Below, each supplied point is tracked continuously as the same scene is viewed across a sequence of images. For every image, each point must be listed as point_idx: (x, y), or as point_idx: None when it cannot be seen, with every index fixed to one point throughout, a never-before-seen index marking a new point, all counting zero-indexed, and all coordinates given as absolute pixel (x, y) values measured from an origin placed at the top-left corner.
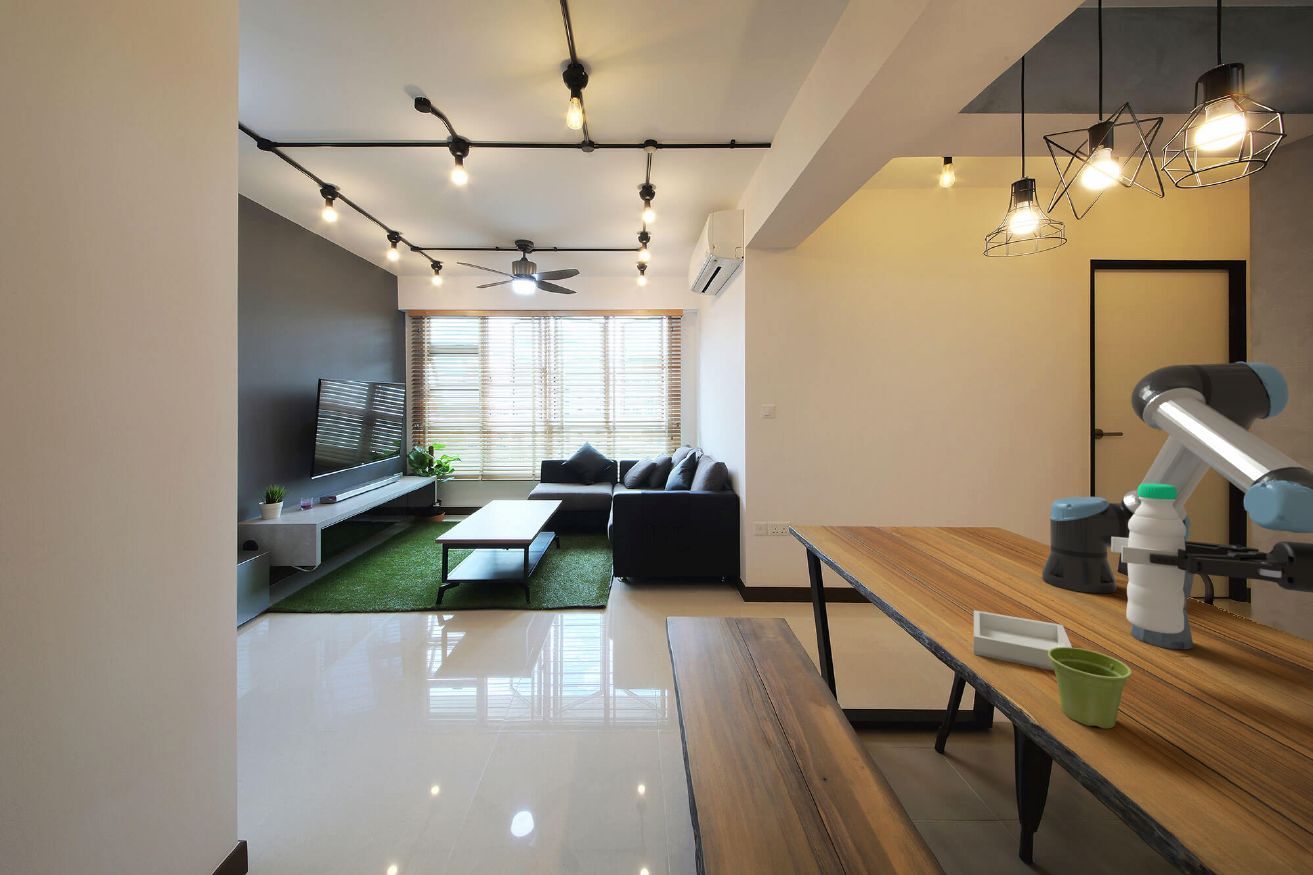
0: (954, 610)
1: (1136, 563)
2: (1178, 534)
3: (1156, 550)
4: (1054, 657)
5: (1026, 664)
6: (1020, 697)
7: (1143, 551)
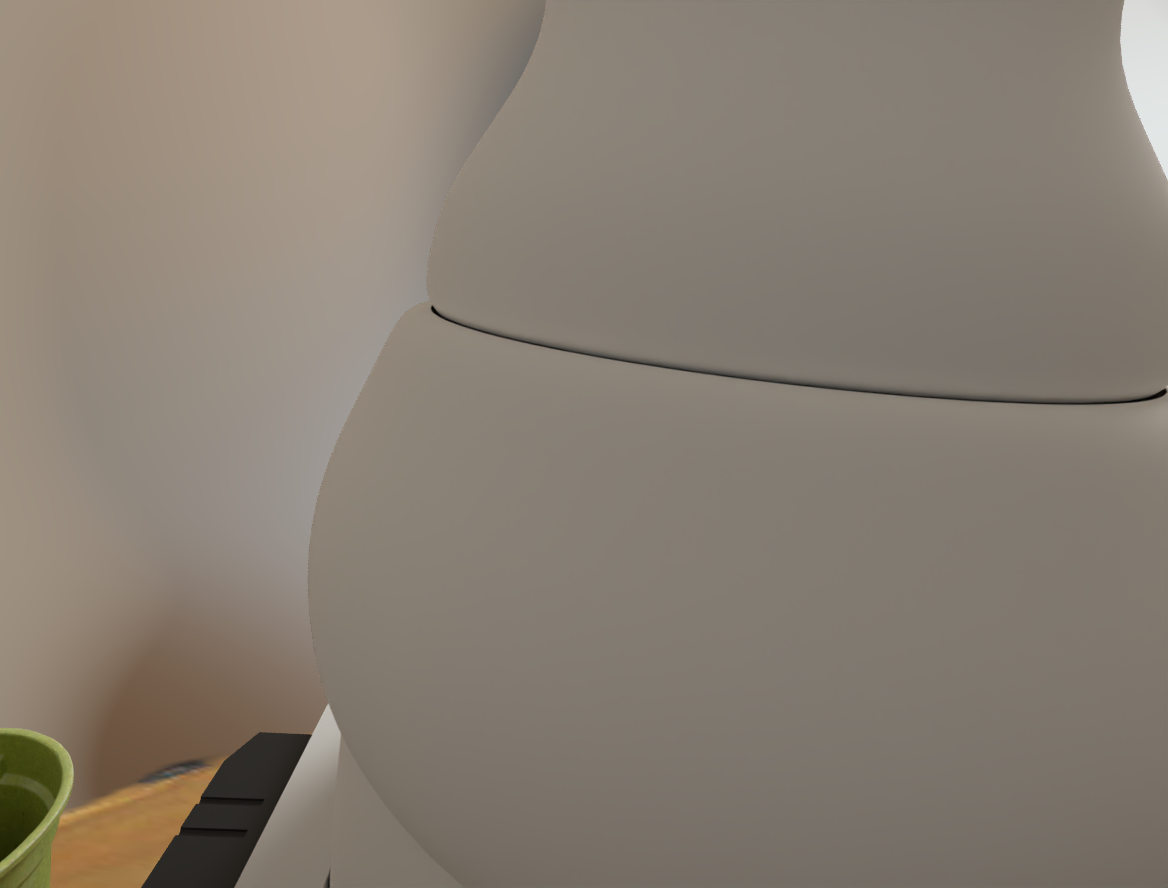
0: None
1: None
2: (343, 713)
3: (311, 740)
4: (42, 772)
5: None
6: (117, 828)
7: None
